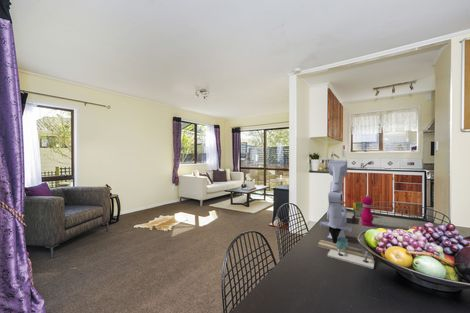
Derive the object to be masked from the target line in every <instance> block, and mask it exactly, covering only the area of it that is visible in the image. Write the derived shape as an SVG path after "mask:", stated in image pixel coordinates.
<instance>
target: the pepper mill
mask: <svg viewBox="0 0 470 313" xmlns="http://www.w3.org/2000/svg"><path fill="white" fill-rule="evenodd" d="M361 201H362V202H363V206H364V210H363V213H362V214H361V216H360V219H361V226H364V227H373V221H374V215H373V213H372V207H373V205H372V204H373V202H374V201H373V199H372V198H371V197H370V195H369V194H366V195H365V196H364V197H363V198H362V199H361Z"/></svg>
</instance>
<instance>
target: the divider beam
mask: <svg viewBox="0 0 470 313" xmlns="http://www.w3.org/2000/svg"><path fill="white" fill-rule="evenodd" d="M317 247H318V248H322V249H325V250H329V251H330V250H331V249H332V250H336V251H338V248H337V243H336V244H335V243H333V241H328V240H322V239H320V240H319V242H318V243H317ZM340 252H344V253H348V254H352V255H356V256H360V257H364V258H365V261H367V259H371V260H374V257H375V256H374V257H373V256H372V255H371V254H370V253H368V252H367V251H366V250H365V249H364V248H363V247H362V246H361V248H357V247H353V246H349V245H348V246H347V248H346V250H345V249H341V250H340Z"/></svg>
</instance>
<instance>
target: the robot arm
mask: <svg viewBox="0 0 470 313" xmlns="http://www.w3.org/2000/svg"><path fill="white" fill-rule="evenodd" d="M327 166H328V173H329V175H330V176H332V180H331V181H330V186H329V187H330V188H329V192H328V194H327V195H328V198H327V200H328V206H327V212H326V219H327V221H323V220H321V221H320V222H319V227H324V228H328V231H329V233H328V235H327V237H326V238H327V239H331V240H332V243H335V244H336V243H337V239H338V238H339V237H341V238H346V234H345V231H346V232H349V233H352V231H353V230H352V229H353V226H350V225H345V223H346V218H347V213H348V212H347V209H346V207H345V206H344V205H343V202H344V194H343V178H344V177H346V176H347V174H348V160H346V159H345V160H340V159H338V160H335V159H330V160H328V165H327Z"/></svg>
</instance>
